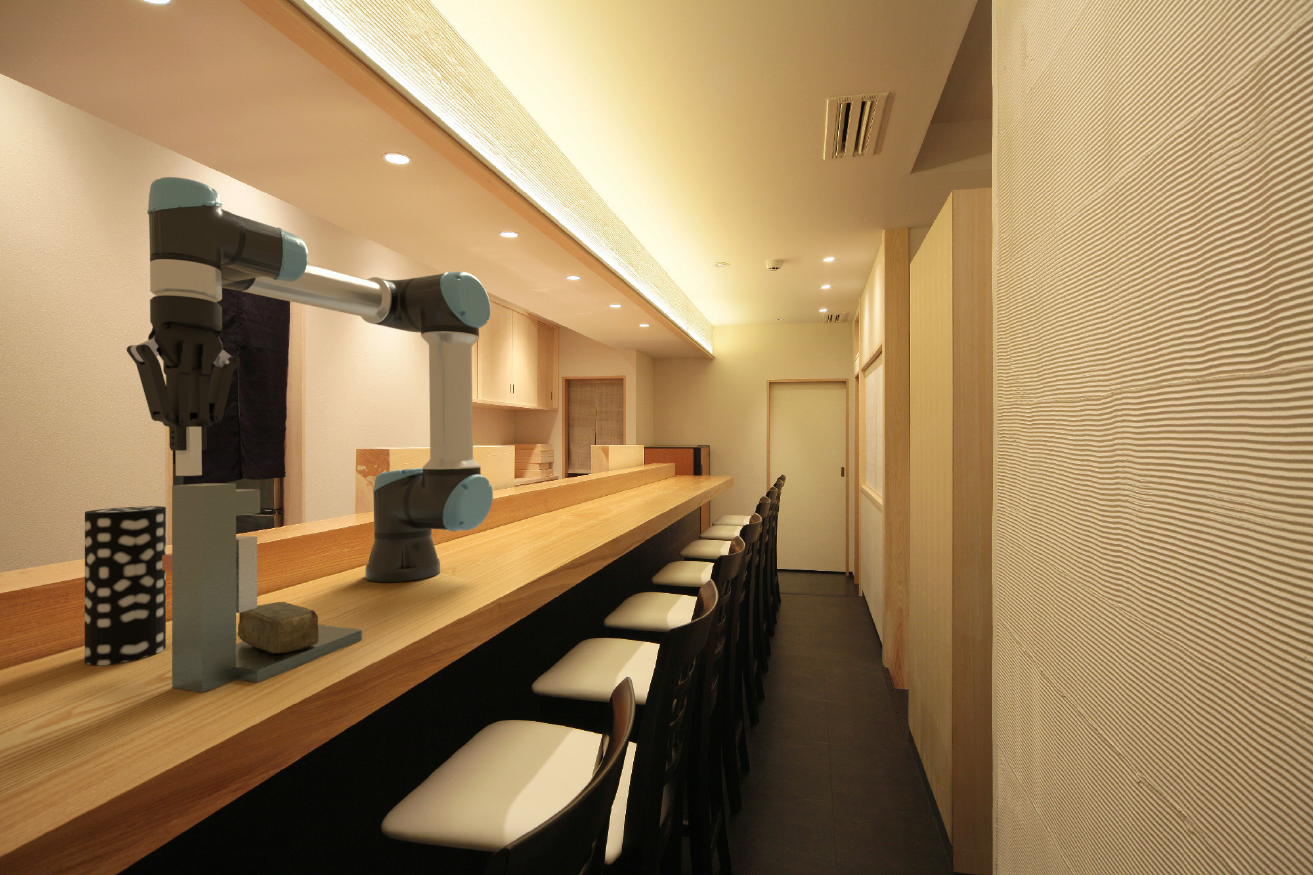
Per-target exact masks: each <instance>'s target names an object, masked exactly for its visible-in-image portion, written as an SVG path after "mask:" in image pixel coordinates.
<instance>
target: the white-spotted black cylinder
mask: <svg viewBox="0 0 1313 875" xmlns="http://www.w3.org/2000/svg"><path fill="white" fill-rule="evenodd" d="M166 554H167V507H166V506H163V505H162V506H157V505H155V506H154V505H150V506H149V505H148V506H145V505H144V506H125V507H111V508H101V509H93V510H92V509H91V510H87V511H85V512H84V663H85V664H86V665H89V666H108V665H109V664H111V665H117V664H118V663H119V664H123V663H122V662H125V663H128V662H129V661H130V662H133V661H132V660H134V661H138V660H141V659H140V658H142V659H146V658H148V656H149V657H152V656H155V655H156V654H159V653H161V652H162V651H164V650H166V647H167V631H166V630H167V573H166V572H167V571H165V570H162V555H166ZM154 654H155V655H154ZM145 657H146V658H145Z"/></svg>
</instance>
